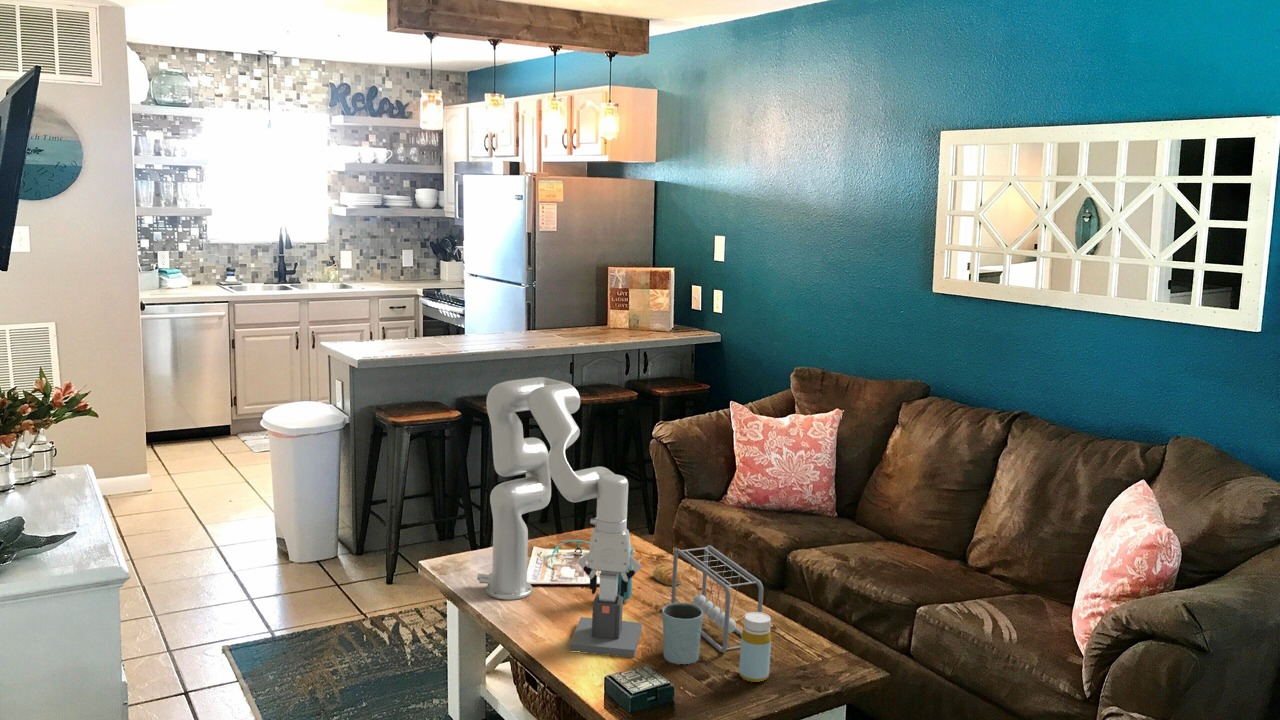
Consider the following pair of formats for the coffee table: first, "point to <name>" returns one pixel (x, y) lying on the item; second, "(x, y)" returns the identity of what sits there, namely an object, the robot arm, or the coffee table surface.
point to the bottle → (755, 647)
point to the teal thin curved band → (569, 541)
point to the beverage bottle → (628, 593)
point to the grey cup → (681, 632)
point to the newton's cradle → (706, 605)
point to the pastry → (666, 574)
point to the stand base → (606, 631)
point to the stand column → (608, 587)
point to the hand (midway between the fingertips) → (608, 592)
